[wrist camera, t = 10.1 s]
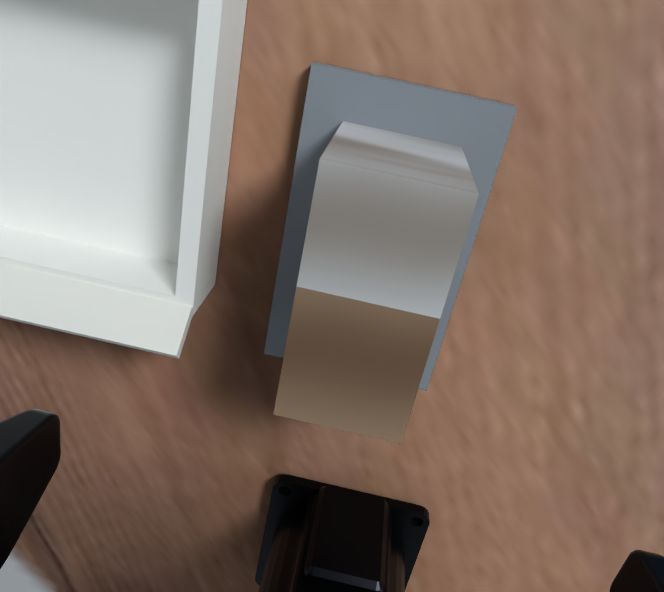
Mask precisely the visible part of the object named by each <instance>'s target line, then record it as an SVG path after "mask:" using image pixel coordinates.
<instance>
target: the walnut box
mask: <svg viewBox="0 0 664 592" xmlns="http://www.w3.org/2000/svg"><path fill="white" fill-rule="evenodd" d="M478 195H479V193H478V190H477V187H476V185H475V182H474V179H473V176H472V174H471V171H470V168H469V165H468V163H467V160H466V157H465V154H464V152H463V149H462V147H460V146H455V145H451V144H446V143H441V142H437V141H432V140H428V139H423V138H419V137H414V136H409V135H405V134H400V133H396V132H391V131H387V130H382V129H377V128H373V127H368V126H364V125H359V124H354V123H350V122H345V121H342V123H341V125H340V126H339V128H338V130H337V131H336V133H335V135H334V136H333V138H332V140H331V141H330V143H329V144H328V146H327V148H326V149H325V151H324V153H323V154H322V156H321V158H320V160H319V165H318V171H317V176H316V182H315V187H314V193H313V198H312V204H311V209H310V215H309V220H308V226H307V231H306V237H305V242H304V248H303V253H302V259H301V264H300V270H299V275H298V281H297V286H296V292H295V297H294V303H293V308H292V314H291V319H290V325H289V330H288V336H287V341H286V347H285V352H284V358H283V363H282V369H281V374H280V380H279V385H278V391H277V396H276V402H275V407H274V413H273V415H277V416H282V417H286V418H290V419H295V420H299V421H303V422H308V423H312V424H316V425H321V426H325V427H329V428H334V429H338V430H342V431H347V432H351V433H355V434H360V435H364V436H368V437H373V438H377V439H381V440H386V441H390V442H394V443H399V444H401V443H402V439H403V436H404V433H405V430H406V427H407V423H408V420H409V417H410V414H411V410H412V407H413V404H414V401H415V398H416V394H417V391H418V388H419V385H420V382H421V378H422V375H423V372H424V369H425V366H426V362H427V359H428V356H429V353H430V350H431V346H432V343H433V340H434V337H435V333H436V330H437V327H438V324H439V321H440V317H441V314H442V311H443V308H444V305H445V301H446V298H447V295H448V292H449V289H450V285H451V282H452V279H453V276H454V272H455V269H456V266H457V263H458V260H459V256H460V253H461V250H462V247H463V244H464V240H465V237H466V234H467V231H468V228H469V224H470V221H471V218H472V215H473V212H474V208H475V205H476V202H477V199H478Z"/></svg>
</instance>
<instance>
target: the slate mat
mask: <svg viewBox="0 0 664 592" xmlns="http://www.w3.org/2000/svg"><path fill="white" fill-rule="evenodd" d="M516 110H517V107H515V106H514V105H512V104H507V103H503V102H498V101H493V100H489V99H484V98H479V97H475V96H470V95H466V94H461V93H456V92H452V91H447V90H443V89H438V88H433V87H429V86H424V85H419V84H415V83H410V82H406V81H401V80H396V79H392V78H387V77H383V76H378V75H373V74H369V73H364V72H359V71H355V70H350V69H346V68H341V67H336V66H332V65H327V64H323V63H318V62H313V63H311V69H310V75H309V81H308V87H307V93H306V99H305V106H304V112H303V118H302V124H301V130H300V136H299V142H298V148H297V154H296V161H295V167H294V173H293V179H292V185H291V191H290V197H289V203H288V209H287V216H286V222H285V228H284V234H283V240H282V246H281V252H280V258H279V264H278V271H277V277H276V283H275V289H274V295H273V301H272V307H271V313H270V319H269V326H268V332H267V338H266V344H265V350H264V354H267V355H272V356H276V357H281V358H284V352H285V347H286V341H287V336H288V330H289V325H290V319H291V314H292V308H293V303H294V297H295V292H296V286H297V281H298V275H299V270H300V264H301V259H302V253H303V248H304V242H305V237H306V231H307V226H308V220H309V215H310V209H311V204H312V198H313V193H314V187H315V182H316V176H317V171H318V165H319V160H320V158H321V156H322V154H323V153H324V151H325V149H326V148H327V146H328V144H329V143H330V141H331V140H332V138H333V136H334V135H335V133H336V131H337V130H338V128H339V126H340V125H341V123H342V121H345V122H350V123H354V124H359V125H364V126H368V127H373V128H377V129H382V130H387V131H391V132H396V133H400V134H405V135H409V136H414V137H419V138H423V139H428V140H432V141H437V142H441V143H446V144H451V145H455V146H460V147H462V149H463V152H464V154H465V157H466V160H467V163H468V165H469V168H470V171H471V174H472V176H473V179H474V182H475V185H476V187H477V190H478V193H479V195H478V199H477V202H476V205H475V208H474V212H473V215H472V218H471V221H470V224H469V228H468V231H467V234H466V237H465V240H464V244H463V247H462V250H461V253H460V256H459V260H458V263H457V266H456V269H455V272H454V276H453V279H452V282H451V285H450V289H449V292H448V295H447V298H446V301H445V305H444V308H443V311H442V314H441V317H440V321H439V324H438V327H437V330H436V333H435V337H434V340H433V343H432V346H431V350H430V353H429V356H428V359H427V362H426V366H425V369H424V372H423V375H422V378H421V382H420V385H419V388H418V389H420V390H425V391H427V388H428V385H429V381H430V378H431V375H432V372H433V369H434V366H435V363H436V360H437V356H438V353H439V350H440V347H441V344H442V341H443V338H444V335H445V331H446V328H447V325H448V322H449V319H450V316H451V313H452V310H453V306H454V303H455V300H456V297H457V294H458V291H459V288H460V285H461V281H462V278H463V275H464V272H465V269H466V266H467V263H468V260H469V256H470V253H471V250H472V247H473V244H474V241H475V238H476V235H477V231H478V228H479V225H480V222H481V219H482V216H483V213H484V210H485V206H486V203H487V200H488V197H489V194H490V191H491V188H492V185H493V181H494V178H495V175H496V172H497V169H498V166H499V163H500V160H501V156H502V153H503V150H504V147H505V144H506V141H507V138H508V135H509V132H510V128H511V125H512V122H513V119H514V116H515V113H516Z"/></svg>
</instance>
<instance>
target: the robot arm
mask: <svg viewBox="0 0 664 592" xmlns="http://www.w3.org/2000/svg"><path fill="white" fill-rule="evenodd" d="M60 454H61V448H60V420H59V417H58V416H57V415H56V414H55V413H51V412H47V411H43V410H38V409H29V410H26V411H24V412H22V413H19V414H17V415H15V416H13V417H11V418H8V419H6V420H4V421H2V422H0V569H1V567H2V566H3V564H4V562H5V561H6V559H7V558H8V556H9V554H10V553H11V551H12V549H13V547H14V546H15V544H16V542H17V540H18V538H19V537H20V535H21V533H22V531H23V529H24V527H25V526H26V524H27V522H28V520H29V518H30V516H31V515H32V513H33V511H34V509H35V507H36V505H37V504H38V502H39V500H40V498H41V496H42V494H43V493H44V491H45V489H46V487H47V485H48V483H49V482H50V480H51V478H52V476H53V474H54V472H55V470H56V468H57V466H58V464H59V460H60ZM282 486H286V487H289V489H286V488H283V487H282ZM414 517H419V518H420V519H414ZM428 526H429V512H428V510H427V509H425V508H424V507H422V506H419V505H415V504H411V503H406V502H402V501H398V500H393V499H389V498H385V497H381V496H376V495H372V494H368V493H363V492H359V491H355V490H351V489H346V488H342V487H338V486H334V485H329V484H325V483H321V482H316V481H312V480H308V479H304V478H299V477H295V476H291V475H280V476H278V477H277V478H276V480H275V482H274V486H273V490H272V495H271V500H270V505H269V510H268V516H267V521H266V526H265V531H264V536H263V541H262V546H261V551H260V557H259V562H258V567H257V572H256V577H255V579H256V582H257V584H258V585H260V588H259V592H404V591H405V589H406V586H407V583H408V580H409V578H410V575H411V572H412V570H413V567H414V564H415V561H416V559H417V556H418V553H419V551H420V548H421V545H422V542H423V540H424V537H425V534H426V532H427V529H428ZM610 592H664V557H663V556H661V555H659V554H655V553H650V552H646V551H642V550H635V551H633V552H631V553H630V555H629V556H628V558H627V559H626V561H625V563H624V564H623V566H622V567H621V569H620V571H619V572H618V574H617V576H616V577H615V579H614V581H613V582H612V585H611V588H610Z"/></svg>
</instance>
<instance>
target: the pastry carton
mask: <svg viewBox="0 0 664 592" xmlns="http://www.w3.org/2000/svg"><path fill="white" fill-rule="evenodd" d="M246 7H247V0H0V318H4V319H9V320H13V321H17V322H22V323H26V324H30V325H35V326H39V327H43V328H48V329H52V330H57V331H61V332H65V333H70V334H74V335H78V336H83V337H87V338H91V339H96V340H100V341H104V342H109V343H113V344H117V345H122V346H126V347H130V348H135V349H139V350H143V351H148V352H152V353H157V354H161V355H165V356H170V357H174V358H178V359H179V357H180V354H181V351H182V348H183V345H184V341H185V338H186V335H187V332H188V328H189V325H190V322H191V319H192V316H193V315H194V314H195V312H196V311H197V309H198V308H199V307H200V305H201V304H202V302H203V301H204V300H205V298H206V297H207V295H208V294H209V293H210V291H211V290H212V288H213V287H214V286H215V282H216V273H217V264H218V255H219V247H220V238H221V229H222V220H223V211H224V202H225V193H226V185H227V176H228V167H229V158H230V149H231V140H232V131H233V123H234V114H235V105H236V96H237V87H238V78H239V69H240V61H241V52H242V43H243V34H244V25H245V16H246Z"/></svg>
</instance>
